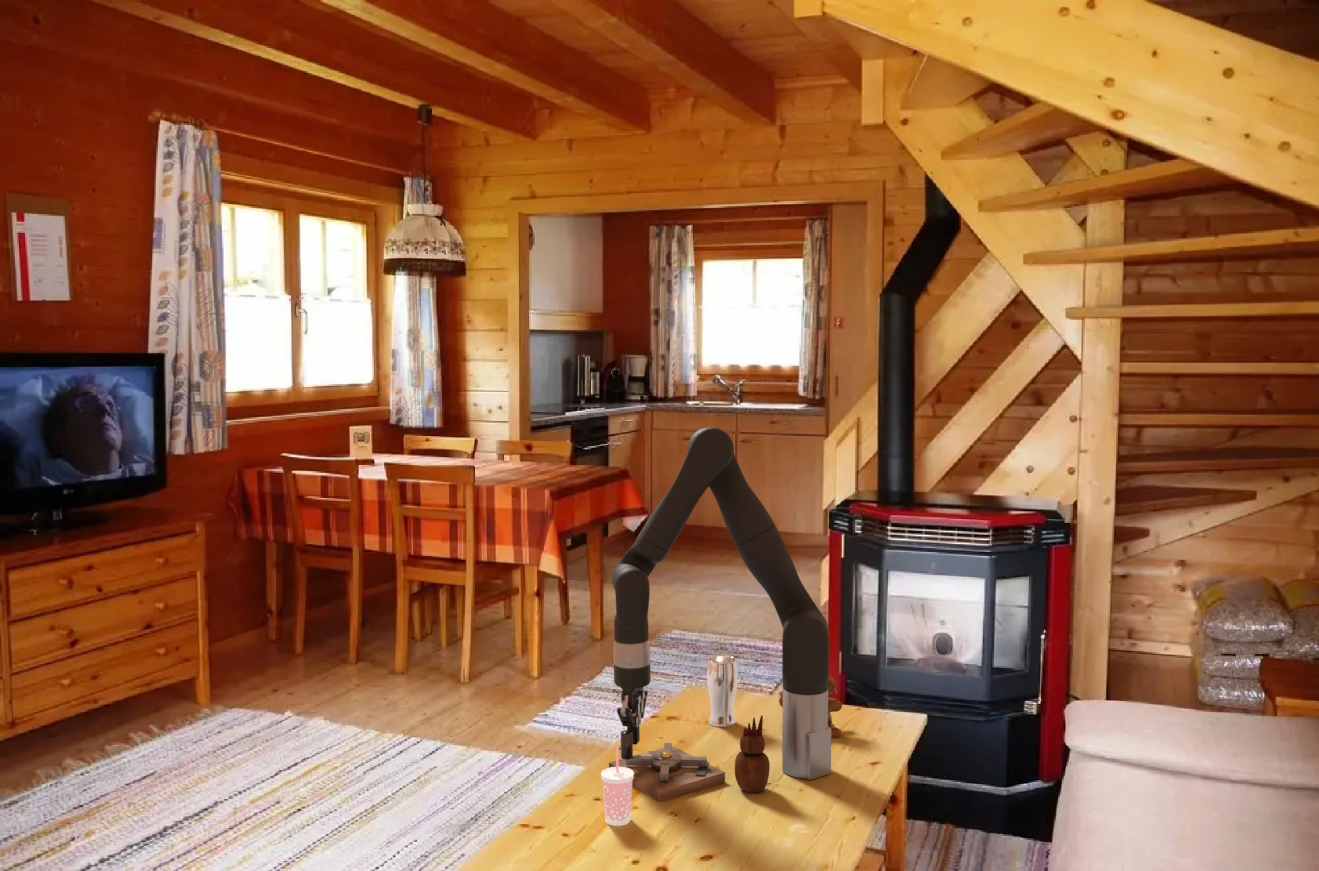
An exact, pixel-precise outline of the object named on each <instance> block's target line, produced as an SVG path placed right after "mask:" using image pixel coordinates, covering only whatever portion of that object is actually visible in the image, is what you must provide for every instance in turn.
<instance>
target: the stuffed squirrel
mask: <svg viewBox="0 0 1319 871" xmlns="http://www.w3.org/2000/svg"><path fill="white" fill-rule="evenodd" d="M834 691H835V694H836V695H837V694H838V691H837V688H836V680H835V679H834V678H833V677H832V676H830V675H829V677H828V727H829V728H831V738H841V737H842V734H843V731H842V730H841V729H840V728H838V727H836V726H835V727H834V726H833V718H832V717H833V716H832V714H831V713H834V712H839V711H841V710H842V709H843V708H842V707H843V702H842V701H840V700H839V699H838V700H837V699H835V698H832V697H829V695H831V694H832V693H833V692H834ZM778 694H779V696H780V697H779V698H778V704H779V706H780V707H781V708H782V709H783V690H782V691H779V692H778Z"/></svg>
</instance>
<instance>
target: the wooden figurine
mask: <svg viewBox="0 0 1319 871" xmlns="http://www.w3.org/2000/svg"><path fill="white" fill-rule="evenodd" d="M763 717H764V716H763V715H760V717H759V718H760V719H759V722H758V725H757V723H756V718H755V717H752V724H751V723H750V722H748V723H747V726H746V725H745V726H744V728H743V733H742V735H740V738H739V748H740V751H739V752H738V753H737V754H736V756H735V760H734V775H735V781H736V783H737V785H738V787H739V788H740V789H741V790H743V791H744V792H748V793H751V794H753V793H760V792H762V791H764V789H765V788H766V787H767V785H768V782H769V778H770V770H771V769H770V763H771V762H770V759H769V756H768V754H766V753H764V751H765V748H766V742H765V738H764V736H763V725H764V724H763V722H764V721H763ZM751 725H752V726H751Z"/></svg>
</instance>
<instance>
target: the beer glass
mask: <svg viewBox="0 0 1319 871" xmlns="http://www.w3.org/2000/svg"><path fill="white" fill-rule="evenodd" d="M737 665H738V664H737V658H736V657H734V656H730V655H724V654H723V655H722V654H721V655H713V656H709V657H708V659H707V669H706V670H707V671H706V672H707V673H706V681H707V683H706V684H707V691H708V695H709V701H710V711H709V712H710V714H709V718H708V723H709V725H711V726H713V727H717V728H729V727H732V726H734V725H735V724H736V718H735V712H734V710H735V709H734V707H735V705H734V704H735V698H736V693H737V686H738V666H737Z"/></svg>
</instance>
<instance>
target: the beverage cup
mask: <svg viewBox="0 0 1319 871" xmlns="http://www.w3.org/2000/svg"><path fill="white" fill-rule="evenodd" d="M619 752H620V751H619V746H618V745H616V746H615V761H616V767H611V768H609V767H607V768H605V769H603V770H602V771H601V772H600V778H601V781H602V791H603V806H604V820H605V823H606V824H607V825H610V826H615V827H620V826H626V825H627V824H630V822H631V811H632V798H633V797H632V796H633V795H632V794H633V786H632V781H633V778H634V772H633V770H631V769H629V768H626V767H619V760H620V758H619V756H620V755H619Z"/></svg>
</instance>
